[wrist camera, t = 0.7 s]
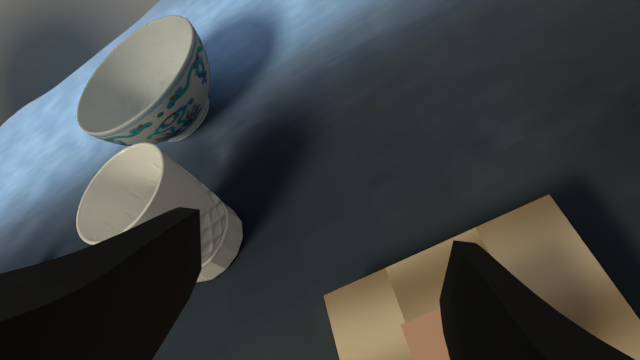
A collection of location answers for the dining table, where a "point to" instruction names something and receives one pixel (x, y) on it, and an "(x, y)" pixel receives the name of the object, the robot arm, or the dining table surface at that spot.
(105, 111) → the chinaware
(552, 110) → the dining table surface
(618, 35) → the dining table surface
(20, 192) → the dining table surface
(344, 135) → the dining table surface
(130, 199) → the white cup
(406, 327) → the terracotta block
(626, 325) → the pocket block
